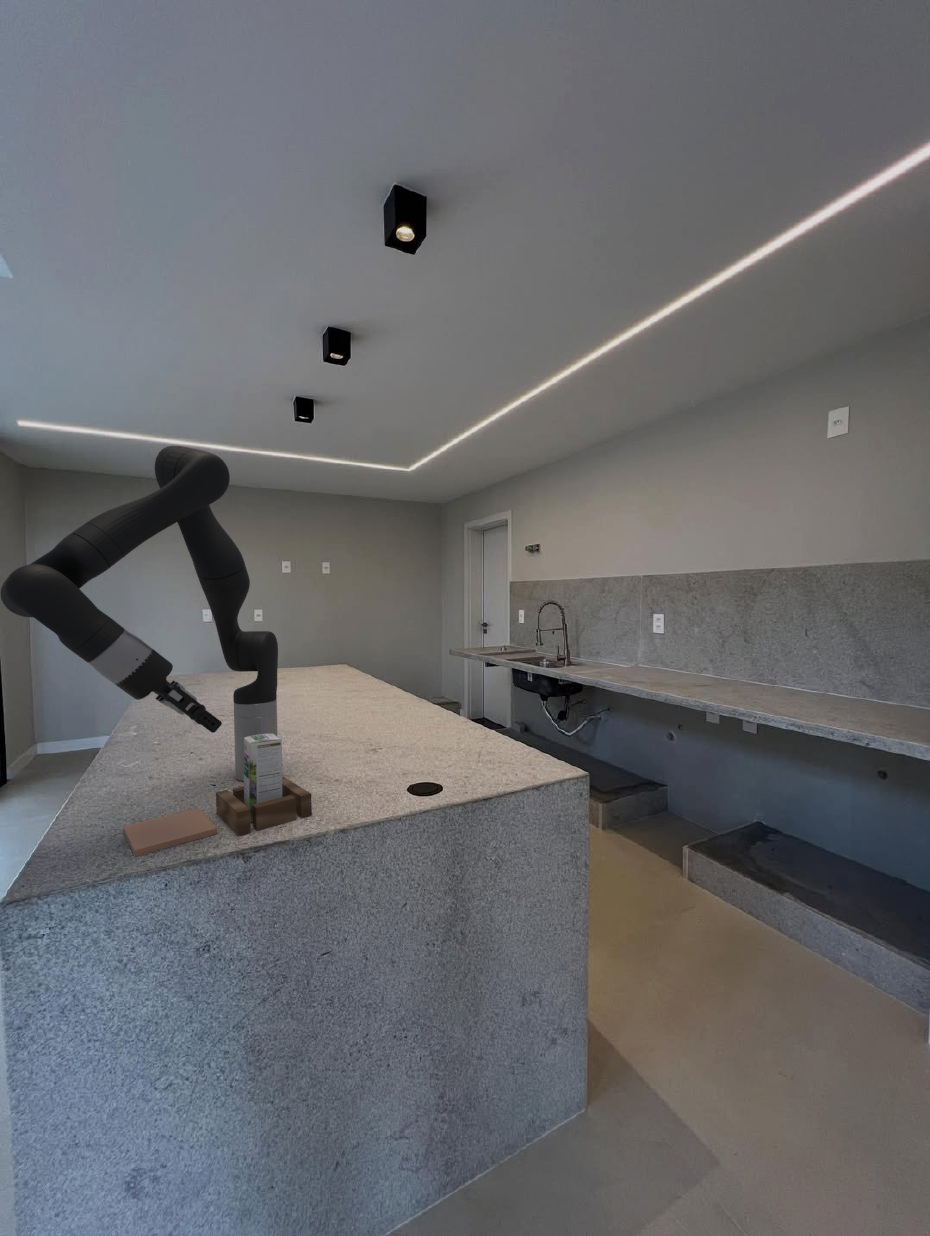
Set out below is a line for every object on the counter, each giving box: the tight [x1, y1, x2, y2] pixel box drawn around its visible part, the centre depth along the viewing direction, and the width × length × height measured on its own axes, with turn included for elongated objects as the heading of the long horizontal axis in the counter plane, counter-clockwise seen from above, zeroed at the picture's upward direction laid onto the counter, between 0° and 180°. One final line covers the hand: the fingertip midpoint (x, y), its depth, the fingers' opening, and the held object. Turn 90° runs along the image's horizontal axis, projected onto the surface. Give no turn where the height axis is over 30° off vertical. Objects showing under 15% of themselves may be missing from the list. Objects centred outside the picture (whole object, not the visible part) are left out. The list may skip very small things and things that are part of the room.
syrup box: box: [243, 734, 283, 823], centre depth 97 cm, size 6×6×14 cm
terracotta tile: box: [122, 807, 218, 857], centre depth 89 cm, size 12×12×1 cm
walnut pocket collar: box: [215, 776, 313, 837], centre depth 97 cm, size 13×13×4 cm
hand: (210, 723), depth 91 cm, fingers open, 8 cm apart
